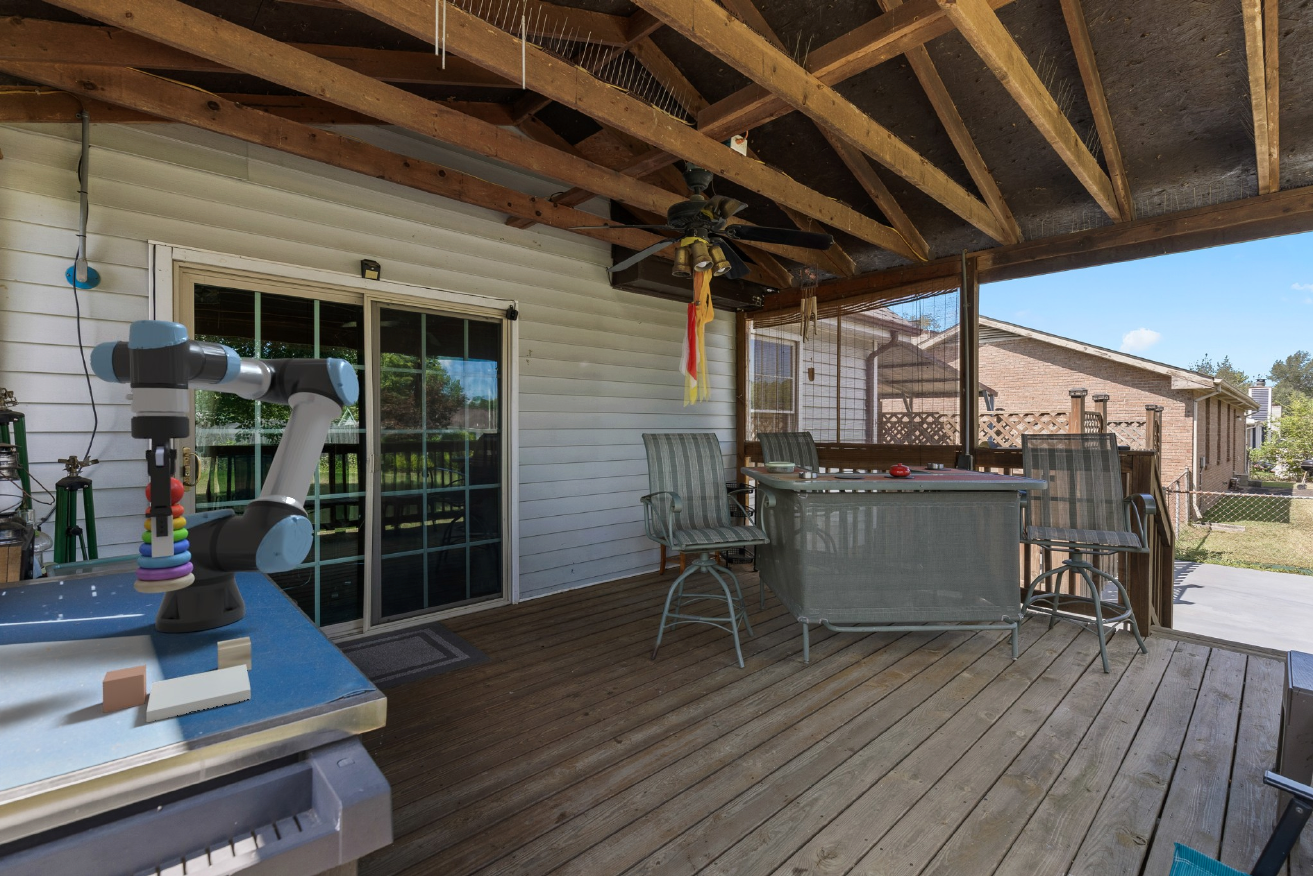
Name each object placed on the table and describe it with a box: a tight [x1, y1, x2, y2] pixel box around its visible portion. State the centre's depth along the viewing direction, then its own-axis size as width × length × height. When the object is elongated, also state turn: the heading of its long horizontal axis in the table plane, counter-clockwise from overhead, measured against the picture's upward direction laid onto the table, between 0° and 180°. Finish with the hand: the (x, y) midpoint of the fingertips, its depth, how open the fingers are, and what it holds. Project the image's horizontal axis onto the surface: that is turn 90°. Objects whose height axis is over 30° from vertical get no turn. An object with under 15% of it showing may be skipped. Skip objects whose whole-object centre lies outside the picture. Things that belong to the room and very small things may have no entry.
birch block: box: [217, 636, 252, 671], centre depth 102 cm, size 4×4×4 cm
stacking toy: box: [133, 477, 195, 594], centre depth 101 cm, size 8×8×19 cm
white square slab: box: [146, 664, 252, 723], centre depth 92 cm, size 12×12×2 cm
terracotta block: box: [102, 664, 147, 713], centre depth 90 cm, size 4×4×4 cm
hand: (164, 551), depth 101 cm, fingers closed on stacking toy, 7 cm apart
